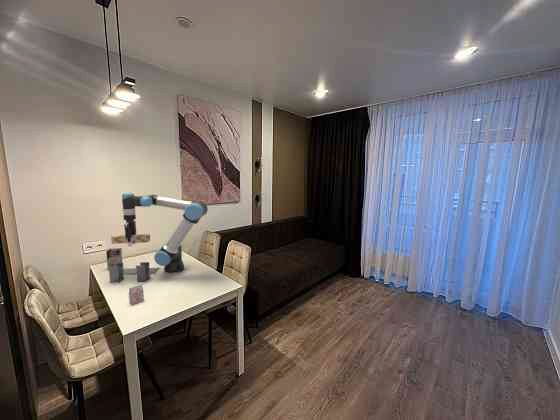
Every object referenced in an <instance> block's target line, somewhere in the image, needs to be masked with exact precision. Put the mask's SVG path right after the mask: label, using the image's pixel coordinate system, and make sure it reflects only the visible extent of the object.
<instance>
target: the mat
mask: <svg viewBox="0 0 560 420" xmlns="http://www.w3.org/2000/svg"><path fill="white" fill-rule="evenodd" d="M159 269H160V267H149V273H150V275H154V274H156V273H157V271H159ZM123 275H124V276H127V275H129V276H130V275H137V270H136V267H134V268H133V267H131V268H129V267H128V268H125V267H124V268H123Z"/></svg>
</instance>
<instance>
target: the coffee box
mask: <svg viewBox="0 0 560 420" xmlns="http://www.w3.org/2000/svg"><path fill="white" fill-rule="evenodd" d="M122 248H123V247H122ZM122 248H121V247H120V248H117V247H116V248H108V249H107V250H106V252H105V253H106V263H107V264H106V265H107V268H108V266H114V263H123V251H122V250H123V249H122Z"/></svg>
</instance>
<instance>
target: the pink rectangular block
mask: <svg viewBox="0 0 560 420" xmlns="http://www.w3.org/2000/svg"><path fill="white" fill-rule="evenodd" d="M144 295H145V293H144V288H143V284H142V283H141V284H138V285H136V286H135V285H134V286H132V287H129V291H128V302H129V304H130V305H131V306H133V305H136V304H138V303H142V302H143V301H145V296H144Z"/></svg>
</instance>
